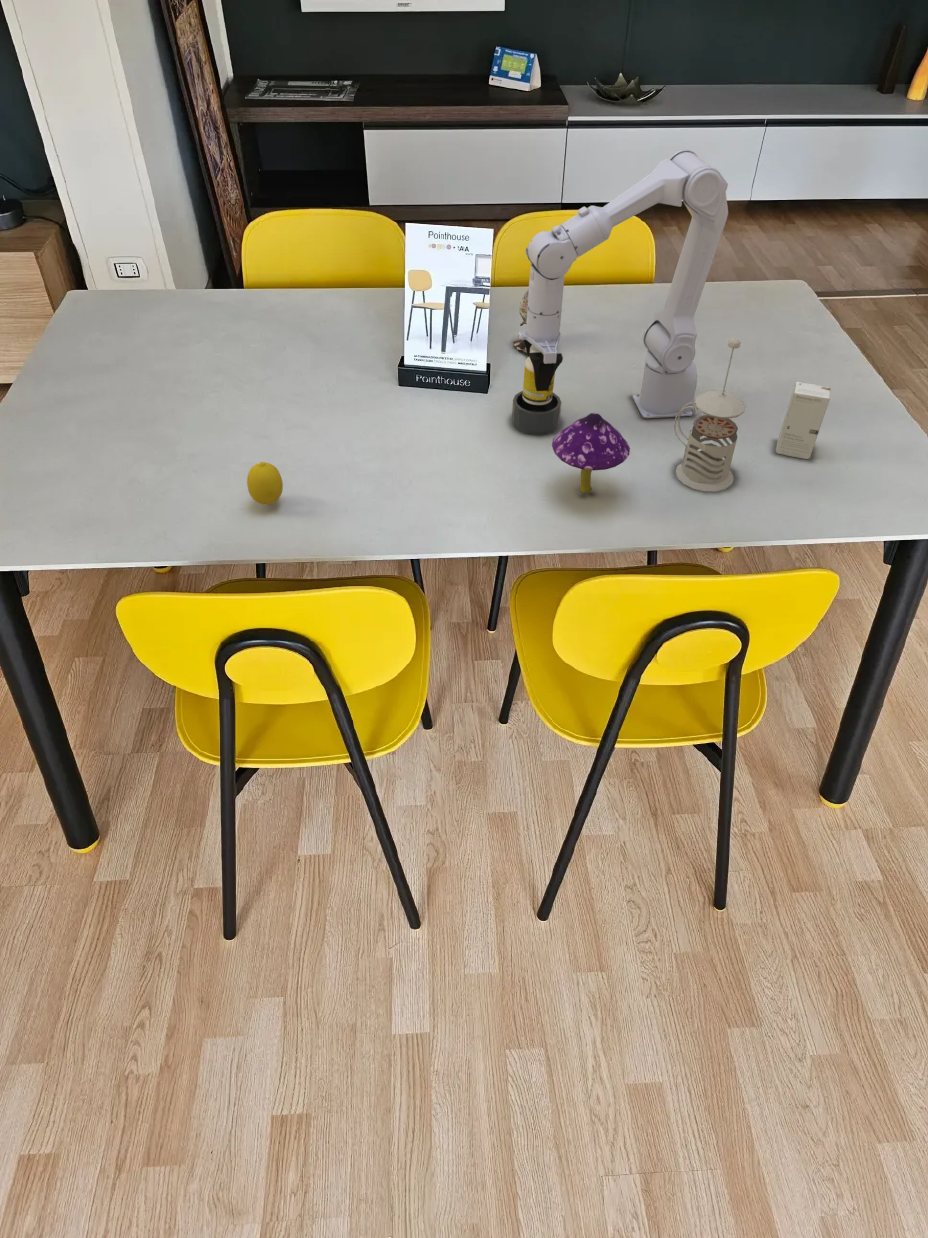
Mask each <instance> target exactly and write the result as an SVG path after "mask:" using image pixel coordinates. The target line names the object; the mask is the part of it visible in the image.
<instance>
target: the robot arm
mask: <svg viewBox="0 0 928 1238" xmlns="http://www.w3.org/2000/svg"><path fill="white" fill-rule="evenodd" d="M728 186H729V184H728V182H727V180H726V179H725V177H724V176H723V175H722V173H721V172H720V171H719V170H718V169H717V168H715V167H712V166H711V165H710V164H709V163H707V161H704V160H703V159H702V158H701V157H699V155H697V153H695V152H694V151H693V150H690V149H681V150H678V151H676V152H674V153H672V155H670V157H667V158H665V159H662V160H661V161H659V163H658V164H657V165H656V166H655V168H654V169H653V170H652V171H651V172H650V173H649V174H648V175H646V176H644V177H643V178H642V179H640V180H639V181H638V182H636V183H635V184H634V185H632V186H630V187H629V188H628V189H626V190H625V191H623V192H622V193H620V194H619V195H618V196H616V197H615V198H613V199H612V200H611V201H610V202H608V203H606V204H605V205H604V206H603V207H602V206H596V205H590V206H588V207H586V206H582V207H581V208H579V209H578V210H577V212H578V213H577V214H575V215H574V216H573V217H572V216H571V218H569V219H567V220H566V221H564V222H562V223H561V224H560V225H558V224H557V225H555V226H553V227H552V228H551V230H547V231H546V230H542V231H539V232H538V233H536V234H534V236H533V237H532V238H531V241H529V243H528V245H527V247H525V256H526V258H527V260H528V261H529V262H530V270H529V281H528V289H529V293H528V308H527V323H526V324H525V329H524V330H520V331H518V337H519V340H522V341H524V343H525V347H526V351H527V352H526V357H527V358H528V357H530V360H531V362H532V364H533V369H534V379H535V387H536V390H537V391H548V389H549V387H550V384H551V381H552V378H553V375H554V373H555V374H556V371H557V370H558V368H559V366H560V365H561V364H562V363H563V360H564V357H563V354H562V353H558V351H557V349H558V346H559V343H560V340H561V331H560V330H561V320H562V310H563V308H562V307H563V297H564V287H565V276H566V274H568V272H569V271H570V270H571V267H572V265H573V263H574V262H575V261H577V259H578V258H579V257H581V256H583V255H585V254H586V253H588V252H589V251H591V250H593V249H594V248H596V247H598V246H599V245H601V244H602V243H604V242H605V241H607V240H608V239H610V236H611V233H612V230H613V228H614V227H616V226H618V225H619V224H622V223H624V222H625V221H627V220H629V219H631V218H632V217H634V216H636V215H639V214H640V213H642V212H644V211H645V210H648V209H650V208H651V207H653V206H655V205H657V204H662V205H669V206H674V207H679V208H680V207H682V206H683V205H684V206H685V207H686V210H687V211H688V212H689V214H690V216H691V220H690V223H689V226H688V229H687V233H686V235H685V239H684V243H683V245H682V248H681V251H680V255H679V258H678V261H677V264H676V268H675V271H674V275H673V277H672V280H671V283H670V287H669V290H668V293H667V296H666V299H665V303H664V306H663V307H662V308H660V309H658V310H656V311H655V312H654V315H653V318H652V320H651V321H650V323H649V324H648V325H647V327H646V328H645V330H644V331H643V335H642V342H643V345H644V347H645V348H646V349H647V351H646V358H645V363H644V370H643V375H642V381H641V388H640V393H638V394H633V395H632V400H633V401H634V403H635V405H636V407H637V409H638V411H639V413H640V415H641V417H642V418H643V419H659V418H675V417H676V416H677V414H678V413H679V412H680V410H681V409H682V408H683V407H684V406H685V405H686V404H688V403H690V402H694V401H695V400H694V399H695V394H696V391H697V385H698V370H697V366H696V364H695V362H694V359H695V357H696V340H697V337H698V332H697V327H696V322H695V315H696V311H697V310H698V309H697V308H698V306H699V303H700V300H701V297H702V294H703V290H704V288H705V285H706V282H707V279H708V276H709V273H710V270H711V268H712V265H713V261H714V258H715V255H716V253H717V249H718V246H719V243H720V241H721V237H722V235H723V231H724V229H725V225H726V223H727V219H728V216H729V206H728V199H727V190H728ZM532 345H533V346H534V347H536V348H537V349H538V350H539V351H540V352H536V353H530V347H531V346H532ZM556 351H557V352H556ZM527 358H526V359H527ZM693 404H694V403H693ZM693 404H690V405H688V406H693ZM688 406H686V407H688ZM691 416H693V408H692V407H691V408H686V409H685V410H683V411H682V412H681V415H680V417H691ZM678 417H679V415H678Z"/></svg>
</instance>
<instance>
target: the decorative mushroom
mask: <svg viewBox="0 0 928 1238" xmlns="http://www.w3.org/2000/svg"><path fill="white" fill-rule="evenodd" d="M551 448H552V450H553V453H554V454H555V456H556V457H557V458H558V459H559V460H560V461H561V462H563V463H564V464H567V465H568V466H570V467H573V468H576V469H579V470H580V482H579V483H580V484H579V491H580V493H582V495H583V494H584V495H588V494H589V493H590V494H591V492H592V486H591V484H592V483H591V480H592V479H591V478H592V472H593V471H605V470H606V471H607V470H610V469H613V468H616V467H618V466H619V465H621V464H623V463H624V462H625V461H626V460H627V459H628V458H629V456H630V453H631V447H630V445H629V443H628V441H627V439H625V438H624V437H623V435H622V433H621V432H620V431H619V430H618V429H617V428H616V427H615V426H613V425H612V423H610V422H609V421H607V419H604V418H603V417H602V415H601V414H599V413H598V412H591V413H588V414H587V415H586V416H584V417H581V418H579V419H576V420H575V421H574V422H572V423H570V424H569V425H568V426H566V427H564V428H562V429H561V430H559V432H557V434H556V435H555V436H554V437H553V438H552V442H551Z"/></svg>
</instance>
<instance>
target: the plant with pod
mask: <svg viewBox="0 0 928 1238" xmlns="http://www.w3.org/2000/svg"><path fill="white" fill-rule="evenodd" d="M528 293H529V288H527V290H526V291H525V293H524V295H523V297H522V298H521V302H520V305H519V310H518V311H519V315H520V317H521V319H522V321H521V322H520V323H519V326H520V327H523V326H524V325H526V323H527V308H528ZM512 345H513V346H514V347H515V348H516V350H517V351H518V350H519V351H523V353H527V351H526V347H525V343H524V341H523V340H521V339H519V340H517V341H512ZM556 352H557V353H558V351H557V350H556Z"/></svg>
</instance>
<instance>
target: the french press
mask: <svg viewBox="0 0 928 1238" xmlns="http://www.w3.org/2000/svg"><path fill="white" fill-rule="evenodd" d="M727 347H729V348H731V353H730V357H729V361H728V366H727V371H726V376H725V378H724V384H723V389H720V390H719V389H718V390H717V389H716V390H708V391H704V392H701V393H700V394H699V395H697V396H696V398H695V400H694V401H693V402H690V403H688V404H686V405H685V406H684V407H683V408H682V409H681V410H680V412H679V413H678V414H677V416H676V417H674V423H673V430H674V433H675V434H674V435H675V436H676V438H677V439H678V441H680V442H681V443H682V444H683V446H685V449H684V454H683V459H682V462H681V463H680V464H678V465H676V469H675V471H674V472H675V475H676V478H677V479H678V480H679V481H680V482H681V483H682V484H683V485H684V486H687V487H689V488H690V489H693V490H696V491H701V492H719V491H723V490H727V488H729V487H730V486H731V485H733V481H734V476H733V473H732V471H731V470H730V469H731V465H732V461H733V457H734V452H735V449H736V446H737V440H738V434H737V432H738V429H739V428H738V425H737V423H736V422H735V421H733V420H732V419H734V418H735V419H736V418H739V417H740V416H741V415H743V414H744V413H745V411H746V410H747V405H746V403H745V400H743V399H741V397H739V396H738V395H736V394H735V393H733V392H730V391H727V390H726V391H725V389H726V384H727V381H728V377H729V371H730V367H731V362H732V359H733V354H734V350H735V349H739V348H741V341H740V339H739V338H738V337H732V338H730V339H728V341H727ZM690 404H695V405H696V407H695V406H693V405H692V406H688V405H690ZM686 406H688V407H686ZM691 407H692V415H693V414H694V415H695V414H696V413H697V412H698V410H699V411H701V412H702V414H703V415H699V416H698V417H697V418H695V419H694V422H693V426H692V429H690V430H689V434H688V437H687V436H686V435H685V434H684V432H683V431H682V429H681V425H680V419H681V416H680V415H681V412H682V411H683V410H685V409H686V408H691ZM678 415H679V416H678ZM677 426H678V431H679V432H680V434H681V435H682V436H683V438H685V439H686V441H687V444H686V443H685V442H684V441H683V440H682V439H681V438H680V436H679V435H678V433H677ZM703 436H704V437H703ZM701 437H703V438H701ZM728 439H729V440H730V442H731V443H730V442H729V440H728ZM722 440H723V442H722ZM708 441H712V442H715V443H718V444H719V445H716V444H715V443H711V442H708ZM703 442H708V443H703ZM724 443H725V444H726V445H725V444H724ZM723 458H724V459H723Z"/></svg>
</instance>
